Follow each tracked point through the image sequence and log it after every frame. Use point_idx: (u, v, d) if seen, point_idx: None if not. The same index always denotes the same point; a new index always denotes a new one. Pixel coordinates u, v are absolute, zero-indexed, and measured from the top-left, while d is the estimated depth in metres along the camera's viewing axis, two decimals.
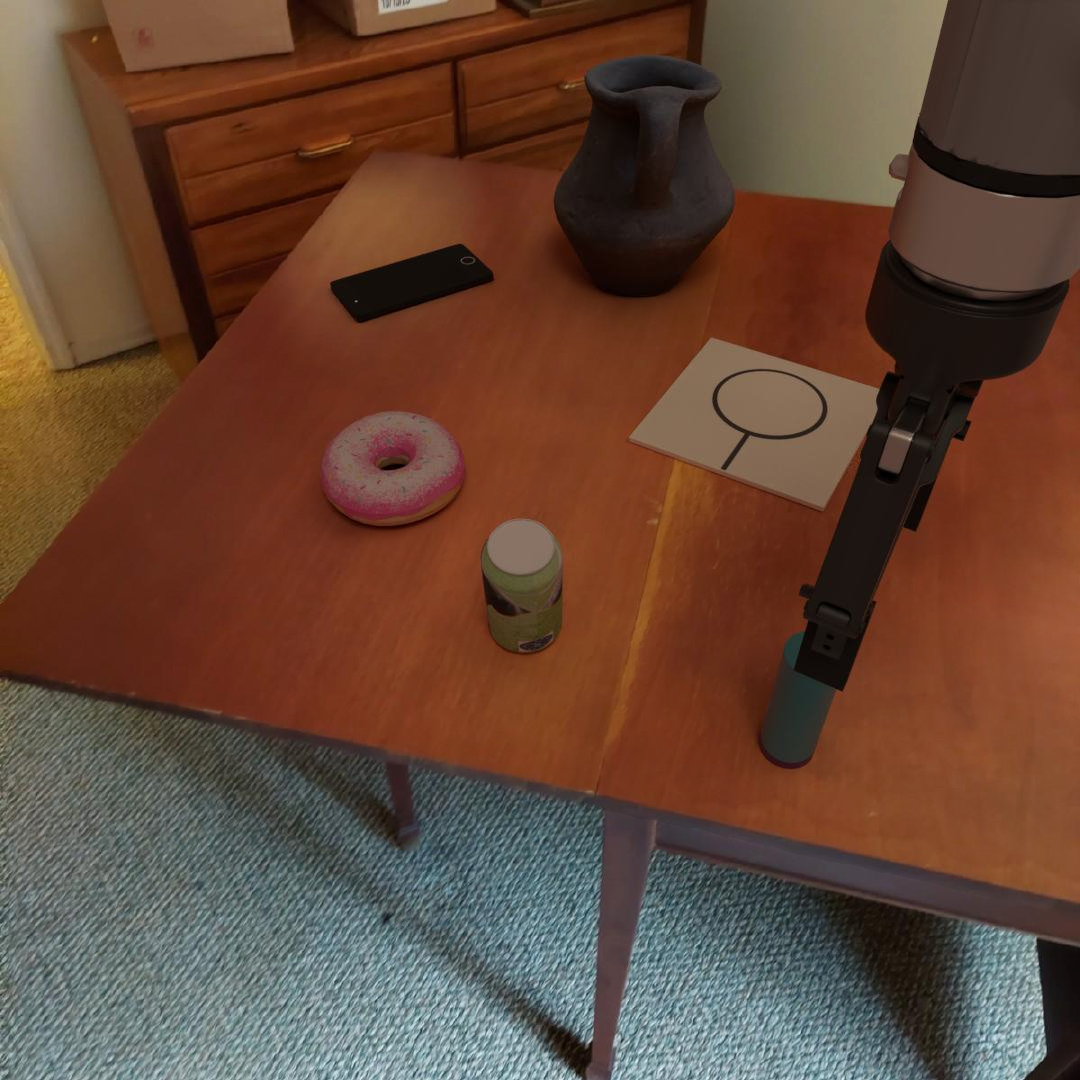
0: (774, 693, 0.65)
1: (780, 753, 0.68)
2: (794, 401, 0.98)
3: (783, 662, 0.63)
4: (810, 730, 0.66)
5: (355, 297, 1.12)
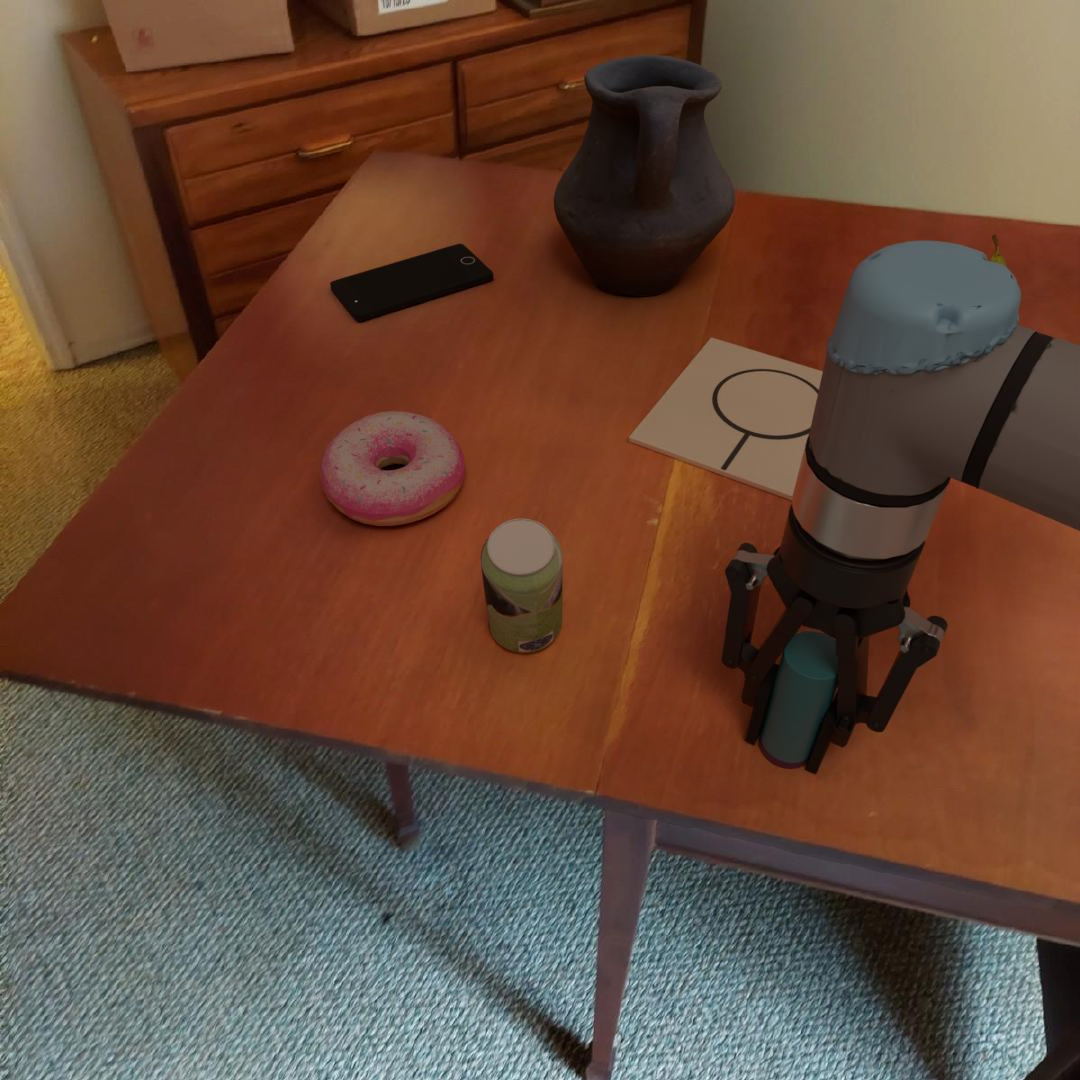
0: (774, 693, 0.65)
1: (780, 752, 0.68)
2: (794, 401, 0.98)
3: (783, 662, 0.63)
4: (810, 730, 0.66)
5: (355, 297, 1.12)
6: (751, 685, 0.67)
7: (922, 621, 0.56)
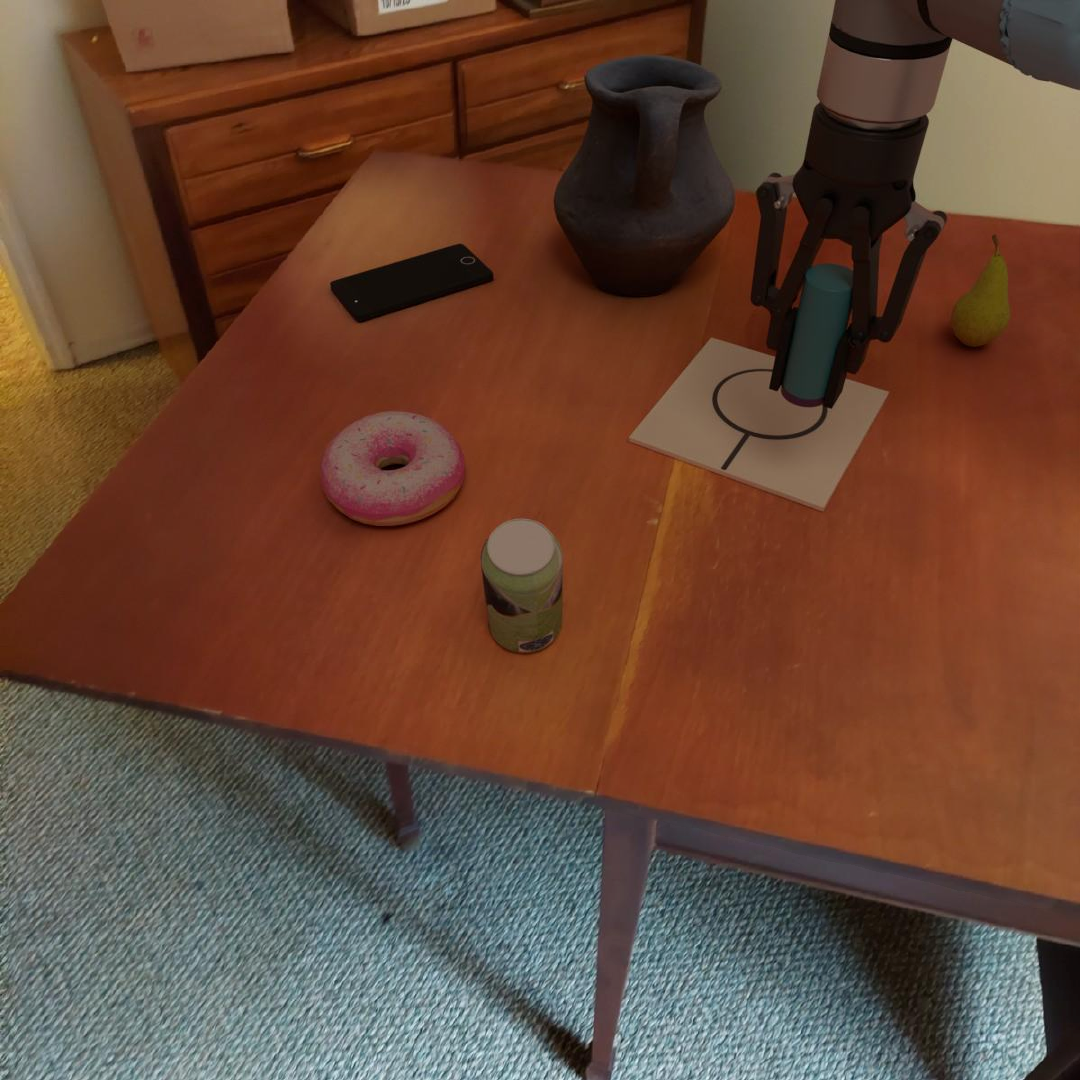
0: (796, 325, 0.75)
1: (801, 388, 0.78)
2: None
3: (805, 285, 0.73)
4: (827, 357, 0.76)
5: (355, 297, 1.12)
6: (775, 325, 0.77)
7: (925, 211, 0.66)
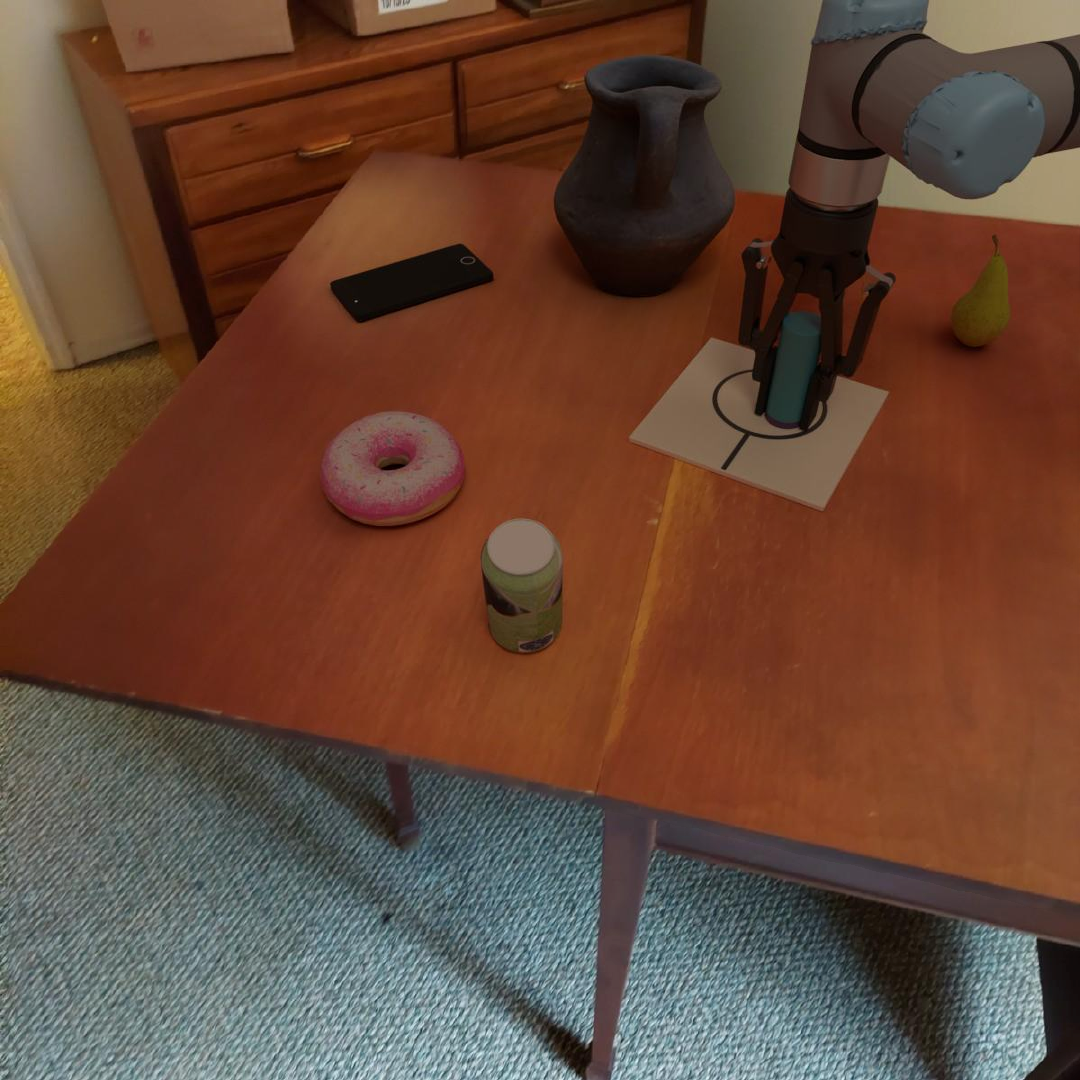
0: (776, 361, 0.91)
1: (780, 413, 0.93)
2: None
3: (782, 329, 0.88)
4: (802, 388, 0.91)
5: (355, 297, 1.12)
6: (759, 361, 0.92)
7: (877, 273, 0.82)
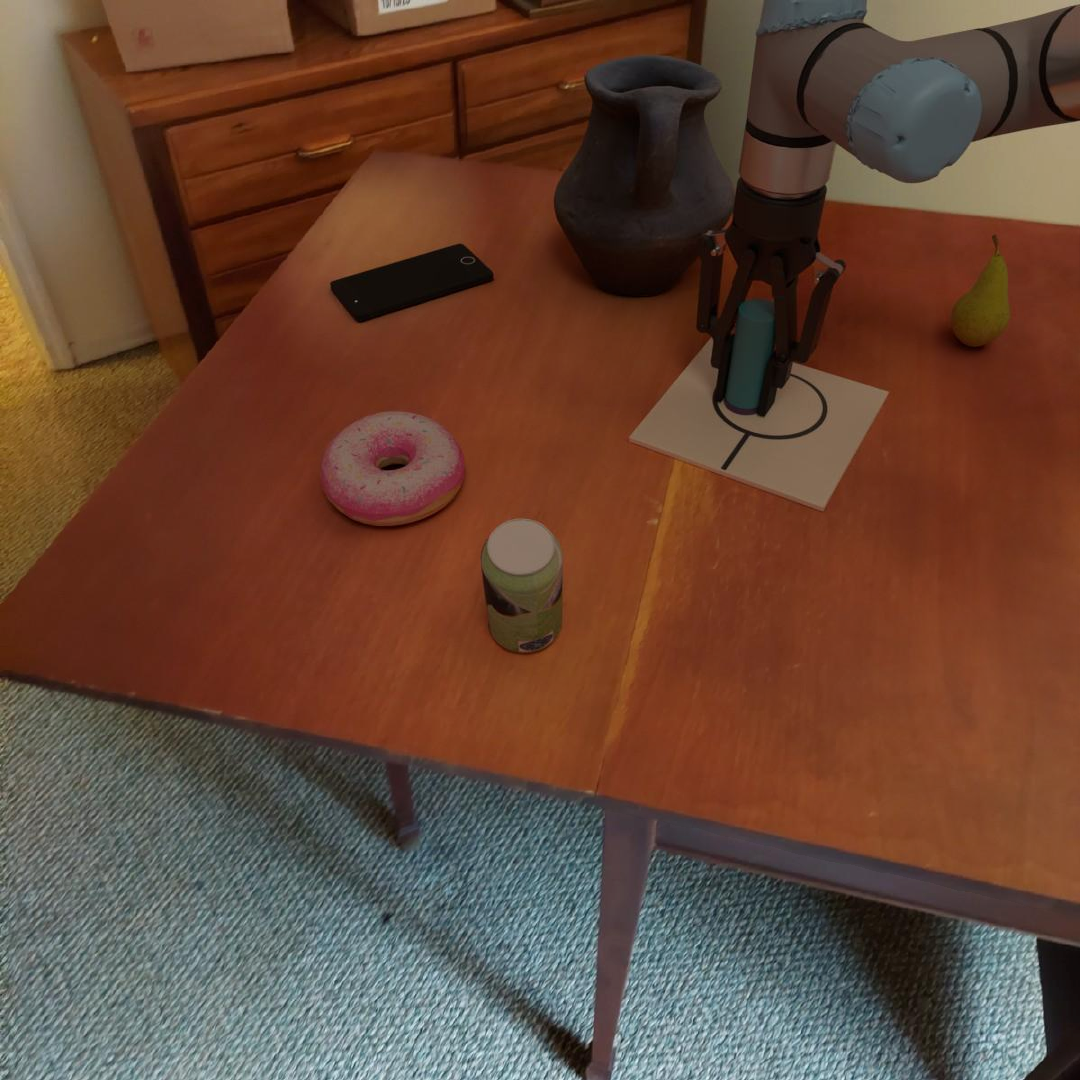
0: (733, 348, 0.93)
1: (738, 399, 0.95)
2: (794, 401, 0.98)
3: (738, 316, 0.90)
4: (758, 374, 0.93)
5: (355, 297, 1.12)
6: (717, 348, 0.94)
7: (828, 260, 0.83)
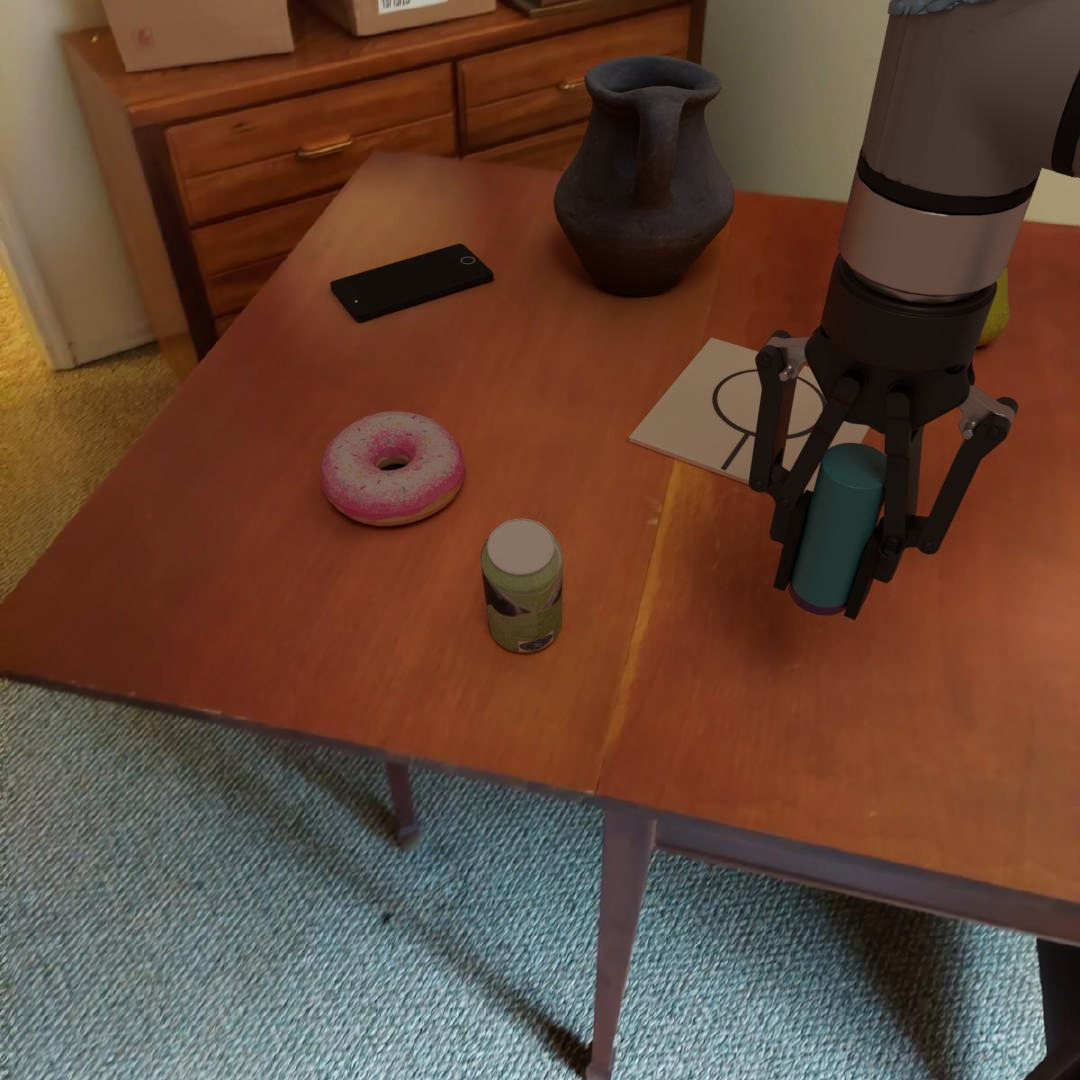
0: (809, 519, 0.57)
1: (814, 594, 0.60)
2: (794, 401, 0.98)
3: (821, 475, 0.55)
4: (850, 562, 0.57)
5: (355, 297, 1.12)
6: (782, 514, 0.59)
7: (989, 400, 0.48)
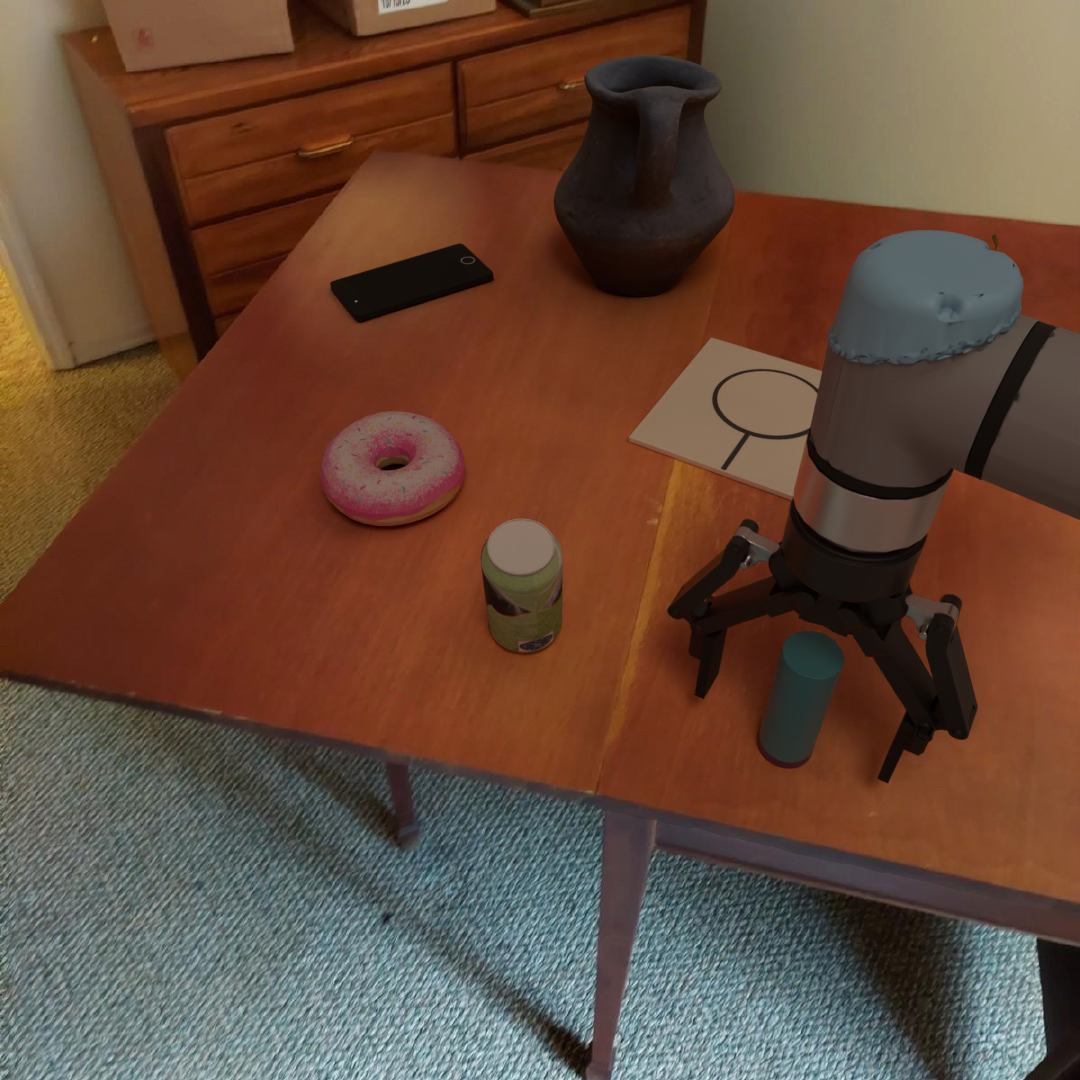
0: (772, 693, 0.65)
1: (779, 752, 0.68)
2: (794, 401, 0.98)
3: (781, 662, 0.63)
4: (809, 730, 0.66)
5: (355, 297, 1.12)
6: (698, 637, 0.67)
7: (928, 603, 0.55)
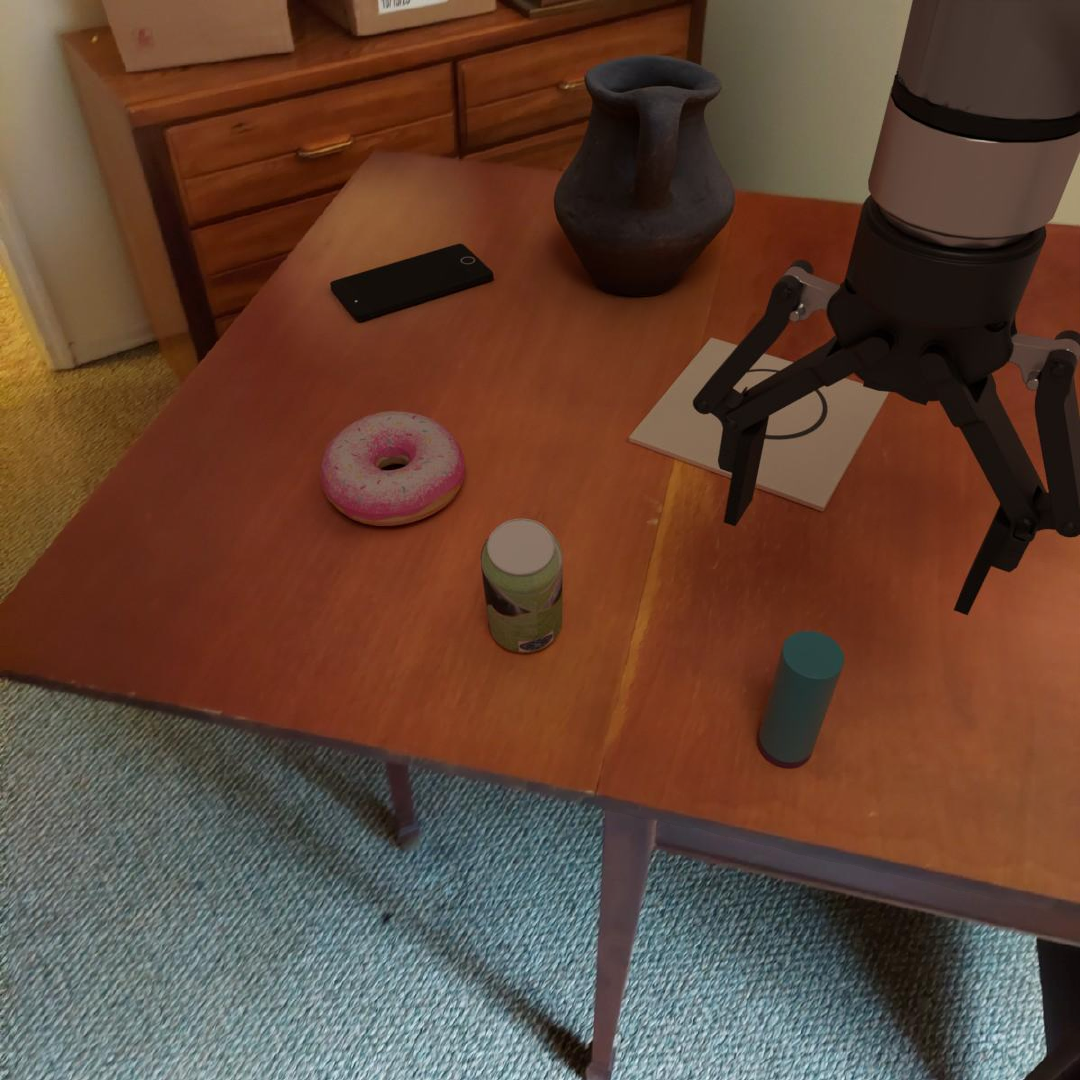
0: (772, 693, 0.65)
1: (779, 752, 0.68)
2: None
3: (781, 662, 0.63)
4: (809, 730, 0.66)
5: (355, 297, 1.12)
6: (730, 439, 0.54)
7: (1041, 341, 0.42)
